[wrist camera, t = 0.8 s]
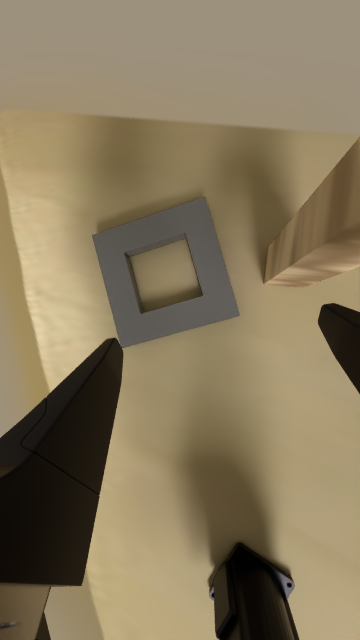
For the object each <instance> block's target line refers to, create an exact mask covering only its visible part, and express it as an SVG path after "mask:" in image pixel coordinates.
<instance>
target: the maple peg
mask: <svg viewBox="0 0 360 640" xmlns="http://www.w3.org/2000/svg"><path fill="white" fill-rule="evenodd" d="M359 266H360V137H359V138H358V140H357V141H356V142H355V143H354V144H353V146H352V147H351V148H350V149H349V151H348V152H347V153H346V154H345V155H344V157H343V158H342V159H341V160H340V161H339V163H338V164H337V165H336V166H335V167H334V169H333V170H332V171H331V172H330V173H329V175H328V176H327V177H326V178H325V179H324V181H323V182H322V183H321V184H320V185H319V187H318V188H317V189H316V190H315V191H314V193H313V194H312V195H311V196H310V197H309V199H308V200H307V201H306V202H305V203H304V205H303V206H302V207H301V208H300V209H299V211H298V212H297V213H296V214H295V215H294V217H293V218H292V219H291V220H290V222H289V223H288V224H287V225H286V226H285V228H284V229H283V230H282V231H281V232H280V234H279V235H278V236H277V237H276V238H275V240H274V241H273V242H272V243H271V244H270V246H269V247H268V252H267V261H266V270H265V279H264V284H269V285H280V286H291V287H302V288H303V287H306V286H309V285H311V284H314V283H317V282H319V281H322V280H325V279H327V278H330V277H333V276H335V275H338V274H341V273H343V272H346V271H349V270H351V269H354V268H357V267H359Z"/></svg>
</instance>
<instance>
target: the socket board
mask: <svg viewBox="0 0 360 640" xmlns="http://www.w3.org/2000/svg"><path fill="white" fill-rule="evenodd" d="M92 237H93V241H94V245H95V249H96V252H97V256H98V260H99V264H100V268H101V272H102V275H103V279H104V283H105V287H106V291H107V295H108V299H109V302H110V306H111V310H112V314H113V318H114V322H115V325H116V329H117V333H118V337H119V341H120V345H121V348H124V347H128V346H131V345H135V344H139V343H142V342H146V341H149V340H153V339H157V338H160V337H164V336H168V335H171V334H175V333H178V332H182V331H186V330H189V329H193V328H197V327H200V326H204V325H207V324H211V323H215V322H218V321H222V320H225V319H229V318H233V317H236V316H240V314H239V311H238V307H237V304H236V300H235V297H234V294H233V290H232V287H231V283H230V280H229V276H228V273H227V270H226V266H225V263H224V259H223V256H222V252H221V249H220V246H219V242H218V239H217V235H216V232H215V229H214V225H213V222H212V218H211V215H210V211H209V208H208V205H207V201H206V198H205V197H202V198H199V199H196V200H194V201H191V202H188V203H185V204H182V205H179V206H176V207H173V208H170V209H167V210H164V211H161V212H158V213H155V214H153V215H150V216H147V217H144V218H141V219H138V220H135V221H132V222H129V223H126V224H123V225H120V226H117V227H114V228H111V229H109V230H106V231H103V232H100V233H97V234H94V235H92ZM185 238H187V242H188V245H189V249H190V252H191V256H192V259H193V263H194V266H195V270H196V273H197V277H198V280H199V284H200V287H201V291H202V294H203V296H200V297H197V298H194V299H190V300H187V301H183V302H180V303H176V304H173V305H170V306H166V307H163V308H159V309H156V310H152V311H149V312H146V313H144V312H143V308H142V304H141V301H140V297H139V293H138V290H137V286H136V282H135V278H134V275H133V271H132V267H131V263H130V260H129V257H130V256H133V255H136V254H139V253H142V252H145V251H148V250H151V249H155V248H158V247H161V246H164V245H167V244H170V243H173V242H176V241H179V240H182V239H185Z"/></svg>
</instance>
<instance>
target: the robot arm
mask: <svg viewBox="0 0 360 640" xmlns="http://www.w3.org/2000/svg"><path fill="white" fill-rule="evenodd" d="M318 325H319V327H320V329H321V331H322V333H323V335H324V337H325V339H326V341H327V343H328V345H329V347H330V349H331V351H332V352H333V354H334V356H335V358H336V359H337V361H338V362H339V364H340V365H341V367H342V368H343V370H344V371H345V373H346V374H347V376H348V377H349V379H350V380H351V382H352V383H353V385H354V386H355V388H356V389H357V391H358V392H359V394H360V312H358V311H355V310H352V309H349V308H347V307H344V306H341V305H338V304H335V303H330V304H324V305H323V306H322V307H321V310H320V314H319V318H318ZM122 367H123V350H122V348H121V346H120V344H119V342H118V340H117V339H116V338H109V339H106V340H105V341H104V342H103V343H102V344H101V345H100V346H99V347H98V348H97V349H96V350H95V351H94V352H93V353H92V354H91V355H89V356H88V357H87V358H86V359H85V360H84V361H83V362H82V363H81V364H80V365H79V366H78V367H77V368H76V369H75V370H74V371H73V372H72V373H71V374H70V375H69V376H67V377H66V378H65V379H64V380H63V381H62V382H61V383H60V384H59V385H58V386H57V387H56V388H55V389H54V390H53V391H52V392H51V393H50V394H49V395H48V396H47V398H44V399H43V400H42V401H41V402H40V403H39V404H38V405H37V406H36V407H35V408H34V409H33V410H32V411H31V412H29V413H28V414H27V415H26V416H25V417H24V418H23V419H22V420H21V421H20V422H18V423H17V424H16V425H15V426H14V427H13V428H11V429H10V430H9V431H8V432H7V433H5V434H4V435H3V436H2V437H1V438H0V640H51V639H50V634H49V630H48V626H47V623H46V618H45V614H44V609H45V606H46V602H47V599H48V595H49V592H50V589H51V587H64V586H82V582H83V578H84V574H85V569H86V563H87V558H88V553H89V548H90V543H91V538H92V533H93V527H94V522H95V517H96V512H97V507H98V502H99V495H100V491H101V485H102V480H103V475H104V470H105V465H106V460H107V455H108V449H109V444H110V439H111V434H112V429H113V424H114V418H115V413H116V408H117V403H118V398H119V393H120V387H121V380H122ZM239 549H241V550H239ZM288 582H289V583H288ZM294 587H295V585H294V582H293V579H292V577H291V576H289V575H288V574H286V573H285V572H283V571H282V570H280V569H279V568H278V567H276V566H275V565H273V564H272V563H270V562H269V561H267V560H266V559H264V558H263V557H261V556H260V555H258V554H257V553H255V552H254V551H252V550H251V549H249V548H248V547H246V546H245V545H243V544H242V543H237V544H236V545H235V546H234V548H233V550H232V551H231V553H230V555H229V557H228V558H227V560H225V561H224V563H223V564H222V566H221V568H220V569H219V571H218V573H217V574H216V576H215V578H214V580H213V583H212V585H211V587H210V589H209V596H210V598H211V599H212V600H213V601H214V609H215V633H216V637H217V638H218V639H219V640H299V637H298V633H297V630H296V627H295V623H294V620H293V617H292V614H291V610H290V607H289V604H288V600H287V599H288V597H289V595H290V594H291V592H292V591H293V589H294Z"/></svg>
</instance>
